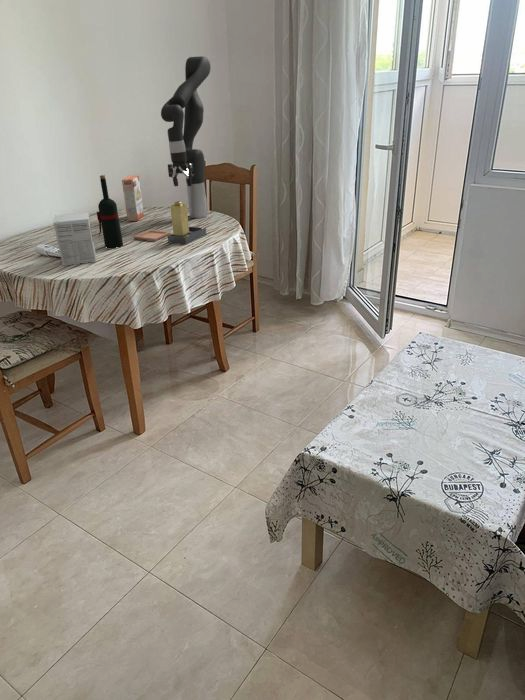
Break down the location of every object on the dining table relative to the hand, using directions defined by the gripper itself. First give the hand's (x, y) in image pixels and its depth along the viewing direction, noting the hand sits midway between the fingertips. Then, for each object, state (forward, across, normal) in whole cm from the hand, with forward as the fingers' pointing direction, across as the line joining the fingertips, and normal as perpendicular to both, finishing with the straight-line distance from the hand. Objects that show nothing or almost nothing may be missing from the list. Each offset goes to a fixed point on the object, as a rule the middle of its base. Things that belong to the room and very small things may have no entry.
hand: (183, 186), depth 255 cm
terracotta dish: (+18, -2, +28) cm, 33 cm away
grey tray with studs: (+19, -18, +23) cm, 35 cm away
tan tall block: (+19, -18, +27) cm, 38 cm away
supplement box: (+17, +3, +67) cm, 69 cm away
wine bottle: (+17, +5, +47) cm, 51 cm away
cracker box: (+16, +32, +4) cm, 36 cm away
